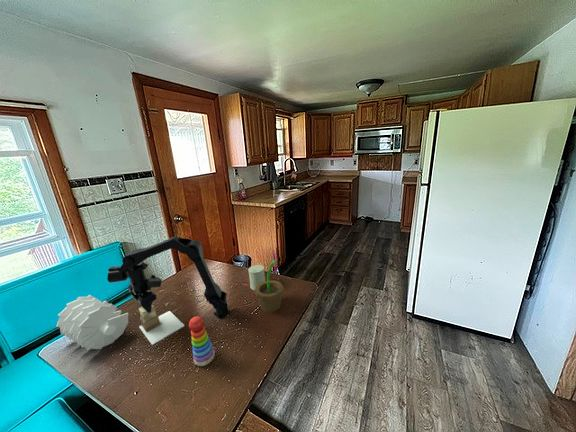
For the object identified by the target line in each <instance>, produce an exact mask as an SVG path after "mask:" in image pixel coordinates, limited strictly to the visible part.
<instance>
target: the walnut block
mask: <svg viewBox="0 0 576 432" xmlns="http://www.w3.org/2000/svg"><path fill="white" fill-rule="evenodd" d="M139 320H140V324H141V325H142V327H143V328H144V330H145V331H146V332H148V331H150V330H151V329H153V328H155V327H157V326H159V325H160V321H159V315H158V314H157V313H156V316H155V317H154V318H152V319H150V320H148V321H146V322H144V320H143V319H142V318H141V316H140V317H139Z"/></svg>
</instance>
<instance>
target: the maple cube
mask: <svg viewBox="0 0 576 432" xmlns="http://www.w3.org/2000/svg"><path fill="white" fill-rule="evenodd" d="M138 311H139V313H140V314H139V315H140V317H141V318H142V319H143V320H144V322H146V321H148V320H150V319H152V318H154V317H155V316H156V314H157V312H156V309H155V306H154V305H153V304H152V308H151V312H150V313H148V312H147V311H146V310H145V309H144V308H143V307H142V306H141V307H138Z"/></svg>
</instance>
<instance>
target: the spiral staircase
mask: <svg viewBox="0 0 576 432" xmlns="http://www.w3.org/2000/svg"><path fill="white" fill-rule="evenodd" d="M57 316H58V317H59V318H58V321H57V324H56V326H55V327H57V328H59V331H60V335H61V336H63V335H64V336H66V337H67V338H68V340H69V341H71V340H72V342H73V343H77V345H78V346H81V349H82V348H85V349H86V350H87V351H90V350H102V348H103V347H106V346H109V345H110V344H113V343H115V341H116V340H117V339H118V338H120V336H122V335H123V334H124V333H125V332H124V331H126V328H127V326H128V325H129V322H130V321H129V312H126V313H123V314H122V310H118V307H116V306H115V305H114V304H112V303H109V302H107V300H104V301H101V300H100V299H98V298H96V297H94V296H93V295H91V294H88V295H87V296H78V297H77V298H76V299H75V300H73V301H70V302H68V303H66V307H64V309H63V310H62V311H61V312H59V313H58V314H57Z"/></svg>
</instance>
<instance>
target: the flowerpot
mask: <svg viewBox="0 0 576 432" xmlns="http://www.w3.org/2000/svg"><path fill="white" fill-rule="evenodd" d="M275 255H276V254H275V251H274V250H272V257H273V259H272V262H271V263H270V264H269V267H268V270H267V275H266V278H267V279H266V280H265V282H261V283H260V284H258V285H257V286H256V288H255V290H254V293H255V296H256V298H257V299H258V302H259V305H260V308H261V310H262V311H263V312H267V313H273V312H276V311H278V310H279V309H280V308H281V306H282V305H281V303H282V295H283V293H284V285H283V284H282V283H281V282H280V281H278V280H271V279H270V276H271V272H272V267H273V268H274V273H275V276H277V262H276V256H275Z"/></svg>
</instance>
